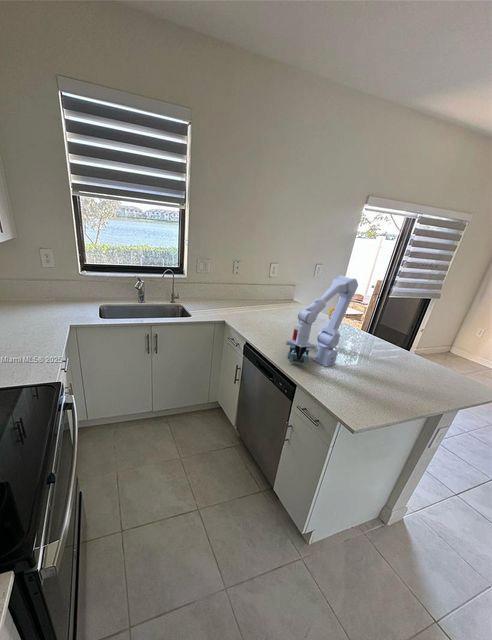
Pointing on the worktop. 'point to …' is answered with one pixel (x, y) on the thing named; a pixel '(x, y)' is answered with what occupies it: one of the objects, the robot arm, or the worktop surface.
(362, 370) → the worktop surface
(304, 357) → the detergent tray
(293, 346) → the dispenser
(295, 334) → the canned food
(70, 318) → the worktop surface
